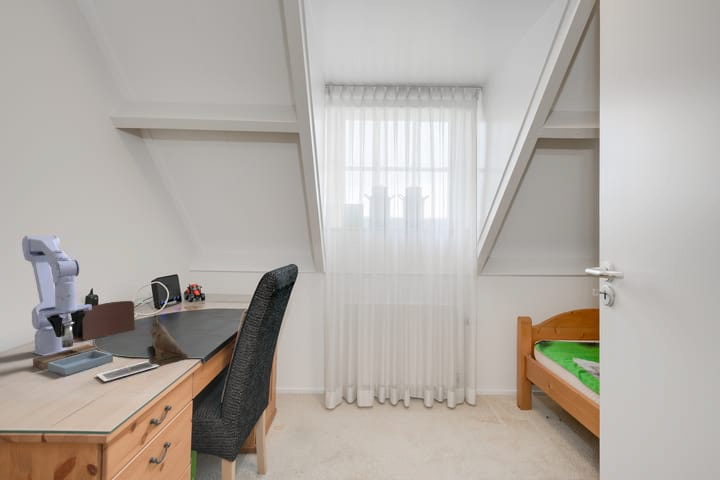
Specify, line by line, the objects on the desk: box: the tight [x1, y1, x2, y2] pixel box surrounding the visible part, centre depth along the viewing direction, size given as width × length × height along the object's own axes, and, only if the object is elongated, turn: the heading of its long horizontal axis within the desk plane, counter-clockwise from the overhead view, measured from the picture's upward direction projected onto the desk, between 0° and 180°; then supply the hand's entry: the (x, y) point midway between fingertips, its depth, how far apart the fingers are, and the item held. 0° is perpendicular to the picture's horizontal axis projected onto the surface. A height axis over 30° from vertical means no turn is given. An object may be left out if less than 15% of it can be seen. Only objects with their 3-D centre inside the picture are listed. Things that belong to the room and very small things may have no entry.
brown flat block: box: [32, 344, 101, 371], centre depth 122 cm, size 8×16×2 cm, turn 154°
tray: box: [47, 350, 114, 377], centre depth 116 cm, size 11×14×2 cm
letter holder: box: [73, 300, 136, 342], centre depth 153 cm, size 10×20×14 cm, turn 148°
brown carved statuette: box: [148, 314, 189, 366], centre depth 120 cm, size 12×6×18 cm, turn 126°
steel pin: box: [62, 319, 75, 348], centre depth 122 cm, size 4×4×8 cm
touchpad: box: [96, 360, 160, 382], centre depth 111 cm, size 8×15×2 cm, turn 141°
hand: (67, 334), depth 122 cm, fingers closed on steel pin, 4 cm apart
